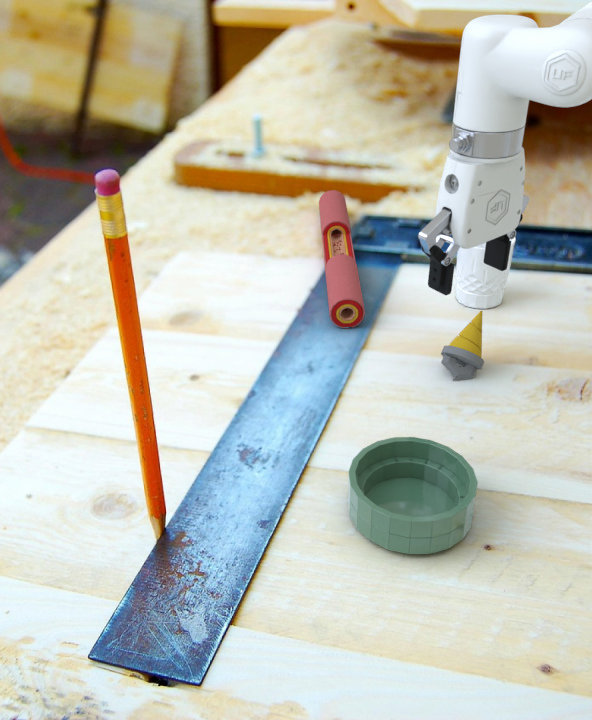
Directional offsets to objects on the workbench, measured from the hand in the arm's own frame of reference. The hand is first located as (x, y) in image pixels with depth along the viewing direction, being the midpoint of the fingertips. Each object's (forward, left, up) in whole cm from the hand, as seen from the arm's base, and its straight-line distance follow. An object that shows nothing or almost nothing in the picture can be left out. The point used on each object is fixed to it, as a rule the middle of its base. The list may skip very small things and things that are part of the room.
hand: (467, 278), depth 93 cm
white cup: (-16, -11, -13) cm, 23 cm away
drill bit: (0, 0, -13) cm, 13 cm away
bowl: (+24, +15, -13) cm, 31 cm away
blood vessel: (-8, -33, -13) cm, 37 cm away
